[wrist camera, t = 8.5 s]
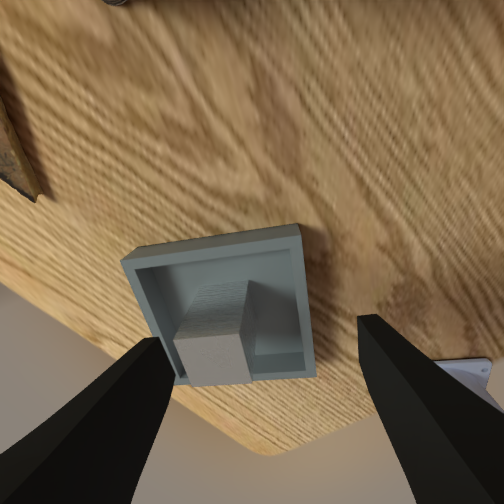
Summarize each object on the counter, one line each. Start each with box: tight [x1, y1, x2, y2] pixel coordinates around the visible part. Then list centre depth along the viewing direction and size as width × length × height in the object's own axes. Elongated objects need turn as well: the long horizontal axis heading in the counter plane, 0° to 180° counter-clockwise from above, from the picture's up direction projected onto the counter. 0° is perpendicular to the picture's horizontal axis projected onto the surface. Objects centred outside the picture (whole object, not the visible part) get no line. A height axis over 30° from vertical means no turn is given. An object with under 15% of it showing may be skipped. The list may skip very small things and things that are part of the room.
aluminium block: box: [173, 280, 258, 387], centre depth 18 cm, size 4×4×6 cm
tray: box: [120, 223, 317, 385], centre depth 20 cm, size 13×13×2 cm
